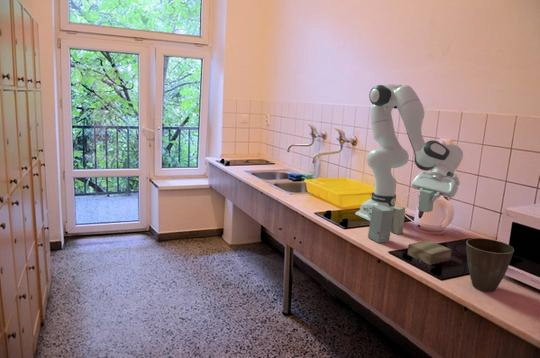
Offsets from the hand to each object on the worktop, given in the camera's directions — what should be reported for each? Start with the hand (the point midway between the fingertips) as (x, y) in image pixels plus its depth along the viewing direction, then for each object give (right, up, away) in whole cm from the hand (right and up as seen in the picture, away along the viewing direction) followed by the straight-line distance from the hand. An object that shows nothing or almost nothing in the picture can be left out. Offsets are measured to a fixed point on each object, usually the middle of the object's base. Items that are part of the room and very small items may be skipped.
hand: (425, 199), depth 185 cm
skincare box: (-19, -20, +8) cm, 28 cm away
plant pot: (+7, -30, -37) cm, 48 cm away
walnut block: (-3, -24, -11) cm, 27 cm away
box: (-7, -18, +19) cm, 27 cm away
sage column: (0, -5, +2) cm, 5 cm away
